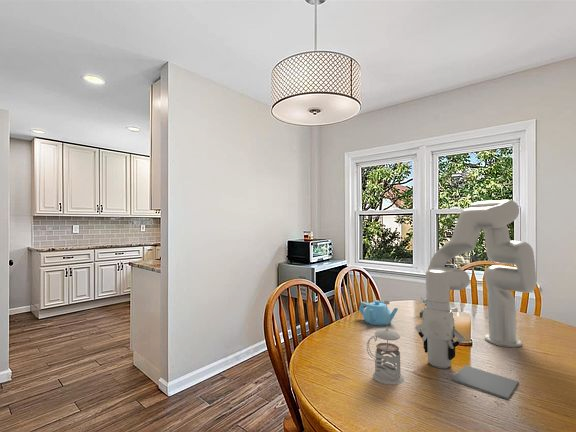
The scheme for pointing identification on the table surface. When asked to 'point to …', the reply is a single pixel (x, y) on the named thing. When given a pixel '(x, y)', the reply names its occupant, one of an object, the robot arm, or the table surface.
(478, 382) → the mat
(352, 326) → the table surface
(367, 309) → the teapot
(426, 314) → the robot arm
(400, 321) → the table surface
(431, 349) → the can
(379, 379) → the french press
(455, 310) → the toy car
